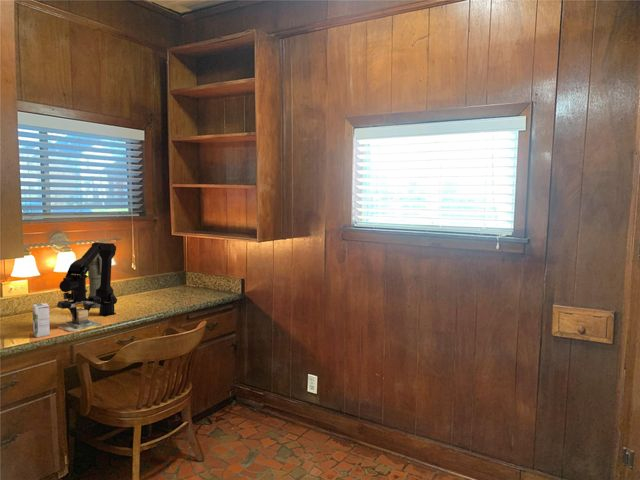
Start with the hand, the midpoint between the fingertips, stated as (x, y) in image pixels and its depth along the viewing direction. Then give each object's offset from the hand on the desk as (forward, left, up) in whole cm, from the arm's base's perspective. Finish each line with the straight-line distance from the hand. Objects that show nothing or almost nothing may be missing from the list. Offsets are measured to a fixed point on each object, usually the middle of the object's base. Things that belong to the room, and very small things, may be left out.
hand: (80, 318), depth 215 cm
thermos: (-26, -33, -4) cm, 42 cm away
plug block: (0, 0, -2) cm, 2 cm away
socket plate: (0, 0, -4) cm, 4 cm away
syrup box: (+18, +1, -4) cm, 19 cm away
